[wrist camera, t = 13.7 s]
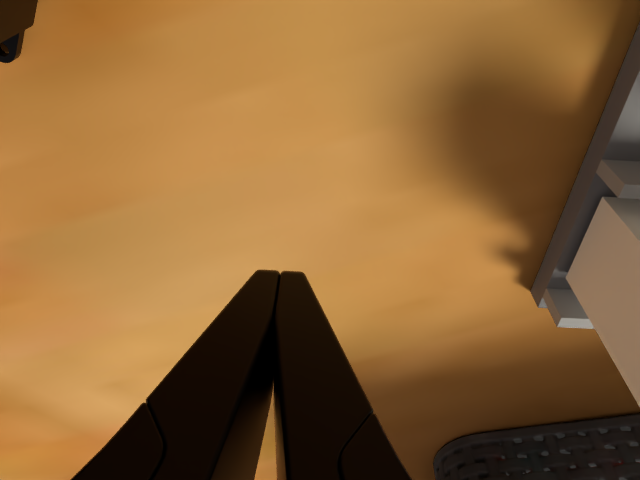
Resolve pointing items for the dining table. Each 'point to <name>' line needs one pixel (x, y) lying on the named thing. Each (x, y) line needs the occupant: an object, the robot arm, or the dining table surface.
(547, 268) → the grey divided tray
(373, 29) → the dining table surface
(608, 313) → the white rectangular block
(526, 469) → the storage bin
